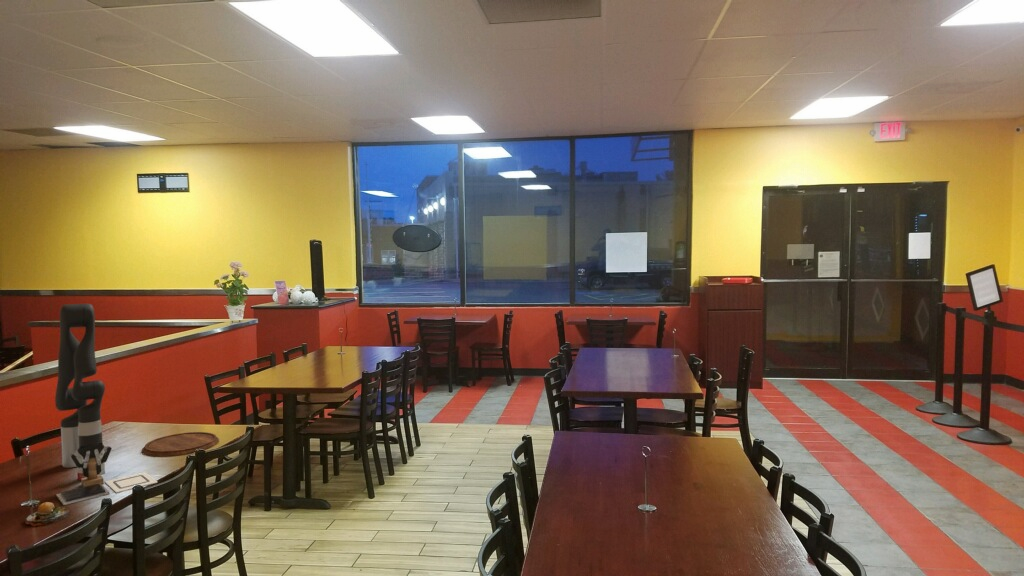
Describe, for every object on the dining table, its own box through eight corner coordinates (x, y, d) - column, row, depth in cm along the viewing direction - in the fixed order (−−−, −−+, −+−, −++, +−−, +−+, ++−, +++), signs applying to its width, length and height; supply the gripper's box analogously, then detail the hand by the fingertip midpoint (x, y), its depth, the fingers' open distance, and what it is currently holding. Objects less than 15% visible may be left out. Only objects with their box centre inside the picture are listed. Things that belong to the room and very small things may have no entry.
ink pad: (56, 496, 221) (56, 492, 221) (101, 485, 232) (100, 482, 232) (63, 505, 213) (63, 501, 213) (109, 493, 224) (109, 490, 223)
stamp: (81, 484, 233) (80, 456, 232) (99, 480, 237) (98, 452, 237) (85, 488, 229) (83, 460, 228) (103, 484, 233) (102, 456, 233)
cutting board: (165, 462, 259) (165, 456, 259) (128, 450, 276) (127, 444, 276) (233, 442, 287) (233, 437, 286) (195, 432, 303) (195, 428, 303)
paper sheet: (105, 482, 235) (105, 481, 235) (145, 472, 245) (145, 471, 245) (116, 493, 224) (116, 491, 224) (157, 482, 235) (157, 481, 235)
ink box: (86, 480, 237) (85, 451, 237) (76, 479, 238) (75, 450, 238) (105, 472, 246) (104, 444, 245) (95, 472, 247) (94, 444, 246)
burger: (77, 511, 209) (76, 490, 209) (52, 526, 197) (51, 504, 197) (42, 512, 208) (41, 491, 208) (15, 527, 197) (14, 505, 196)
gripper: (108, 426, 240) (110, 468, 240) (66, 434, 229) (67, 478, 230) (114, 430, 235) (115, 473, 235) (70, 438, 224) (72, 482, 225)
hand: (92, 475), depth 233 cm, fingers closed on stamp, 3 cm apart
